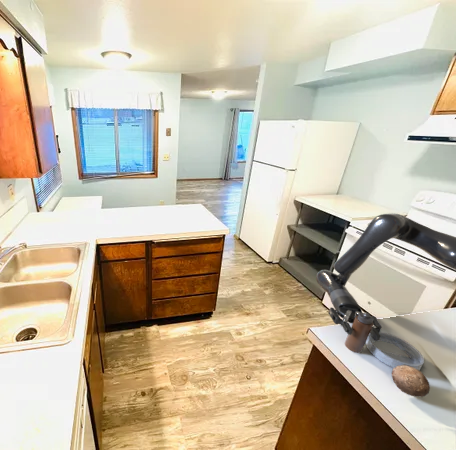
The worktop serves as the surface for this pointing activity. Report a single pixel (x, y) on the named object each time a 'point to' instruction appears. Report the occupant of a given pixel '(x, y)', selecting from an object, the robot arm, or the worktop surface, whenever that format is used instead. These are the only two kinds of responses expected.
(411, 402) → the worktop surface
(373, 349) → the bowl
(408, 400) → the worktop surface
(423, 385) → the brown oval lump
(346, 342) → the pepper mill
